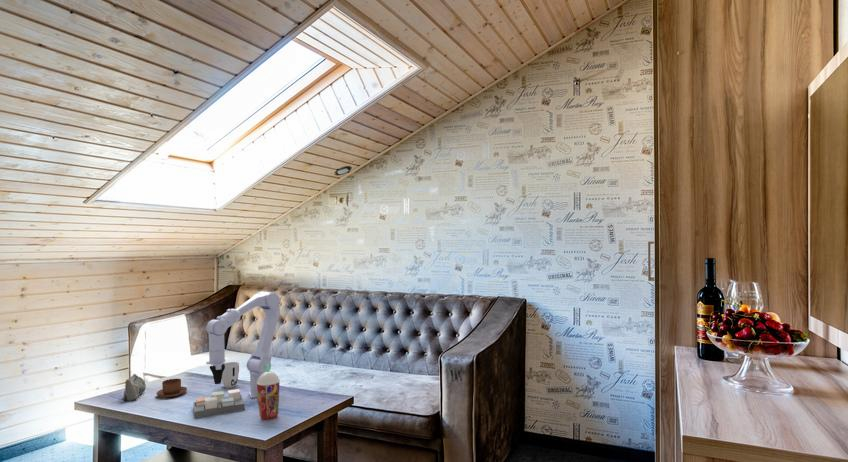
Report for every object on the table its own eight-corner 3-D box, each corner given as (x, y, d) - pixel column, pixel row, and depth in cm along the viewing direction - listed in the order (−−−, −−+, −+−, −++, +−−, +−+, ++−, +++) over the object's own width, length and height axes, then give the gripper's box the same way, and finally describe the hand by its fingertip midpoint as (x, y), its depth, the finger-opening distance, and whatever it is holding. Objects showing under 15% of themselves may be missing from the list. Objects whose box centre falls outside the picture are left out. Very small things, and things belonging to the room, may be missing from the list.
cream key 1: (216, 405, 200) (216, 396, 200) (217, 408, 197) (217, 399, 197) (205, 407, 198) (204, 398, 199) (205, 410, 195) (205, 401, 195)
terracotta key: (207, 405, 204) (207, 396, 204) (208, 409, 201) (207, 399, 201) (196, 407, 203) (195, 398, 203) (196, 410, 199) (196, 401, 199)
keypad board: (241, 400, 211) (240, 394, 211) (244, 409, 200) (244, 403, 200) (193, 408, 203) (193, 402, 203) (194, 418, 192) (194, 411, 192)
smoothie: (280, 420, 188) (279, 366, 188) (257, 423, 185) (255, 368, 186) (280, 412, 196) (279, 360, 196) (257, 415, 193) (256, 362, 194)
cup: (233, 389, 228) (232, 366, 228) (216, 388, 229) (216, 366, 229) (243, 383, 236) (242, 362, 236) (227, 383, 237) (226, 361, 237)
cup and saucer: (157, 393, 225) (156, 379, 225) (187, 389, 230) (186, 375, 230) (155, 401, 214) (155, 386, 214) (187, 396, 219) (186, 382, 219)
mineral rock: (141, 390, 229) (141, 368, 229) (158, 393, 225) (157, 370, 225) (114, 399, 217) (113, 375, 217) (131, 402, 213) (130, 378, 213)
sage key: (223, 400, 207) (223, 391, 207) (224, 403, 203) (224, 394, 203) (212, 401, 205) (212, 392, 205) (213, 404, 201) (212, 395, 201)
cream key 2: (239, 397, 210) (238, 388, 210) (240, 400, 206) (240, 391, 206) (228, 399, 208) (228, 390, 208) (229, 402, 204) (229, 393, 204)
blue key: (232, 406, 203) (232, 397, 203) (234, 409, 199) (233, 400, 199) (221, 408, 201) (221, 399, 201) (222, 411, 197) (222, 402, 197)
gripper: (205, 347, 209) (206, 380, 209) (207, 354, 196) (207, 390, 196) (223, 345, 212) (224, 378, 212) (226, 352, 199) (227, 387, 199)
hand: (217, 383), depth 204 cm, fingers closed
